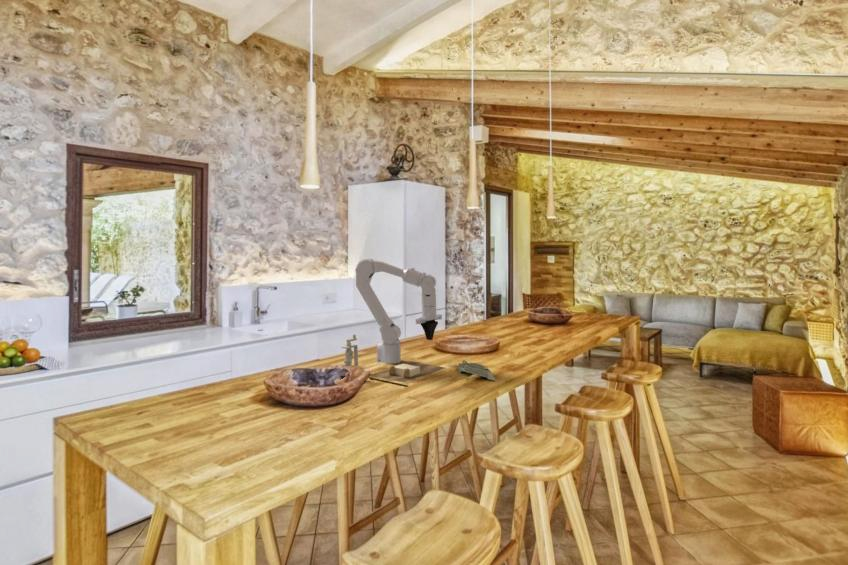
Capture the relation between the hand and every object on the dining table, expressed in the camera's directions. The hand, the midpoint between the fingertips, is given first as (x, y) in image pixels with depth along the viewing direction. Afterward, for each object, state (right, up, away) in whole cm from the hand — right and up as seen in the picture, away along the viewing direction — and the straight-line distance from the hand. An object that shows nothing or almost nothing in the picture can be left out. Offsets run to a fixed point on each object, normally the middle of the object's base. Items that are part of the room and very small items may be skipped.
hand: (429, 339), depth 193 cm
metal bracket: (+17, -12, -15) cm, 26 cm away
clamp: (-30, -12, -13) cm, 35 cm away
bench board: (-8, -12, -13) cm, 19 cm away
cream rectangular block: (-9, -10, -17) cm, 21 cm away
